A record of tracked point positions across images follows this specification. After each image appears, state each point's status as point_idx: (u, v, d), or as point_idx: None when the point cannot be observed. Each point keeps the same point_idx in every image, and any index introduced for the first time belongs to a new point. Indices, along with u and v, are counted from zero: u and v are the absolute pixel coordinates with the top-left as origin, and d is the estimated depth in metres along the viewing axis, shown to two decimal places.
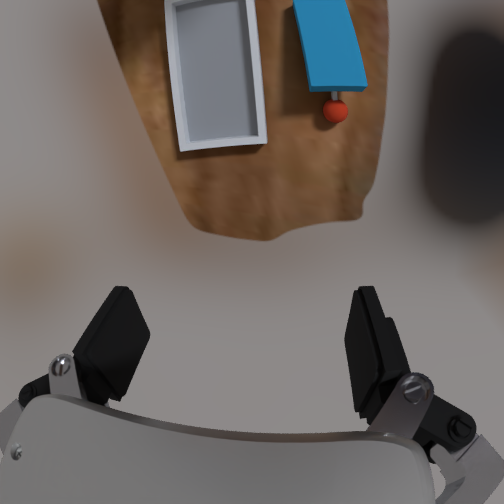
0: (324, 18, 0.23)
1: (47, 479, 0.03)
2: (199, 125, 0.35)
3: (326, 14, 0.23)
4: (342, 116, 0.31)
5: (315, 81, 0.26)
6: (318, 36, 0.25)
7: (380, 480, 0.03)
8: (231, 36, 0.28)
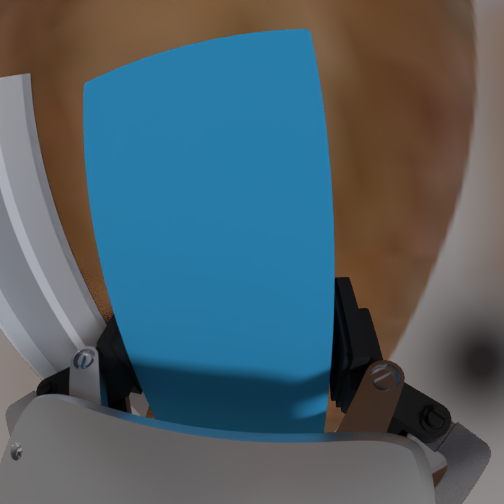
0: (187, 189, 0.07)
1: (47, 479, 0.03)
2: (55, 360, 0.19)
3: (200, 157, 0.06)
4: None
5: None
6: (165, 294, 0.08)
7: (380, 480, 0.03)
8: None
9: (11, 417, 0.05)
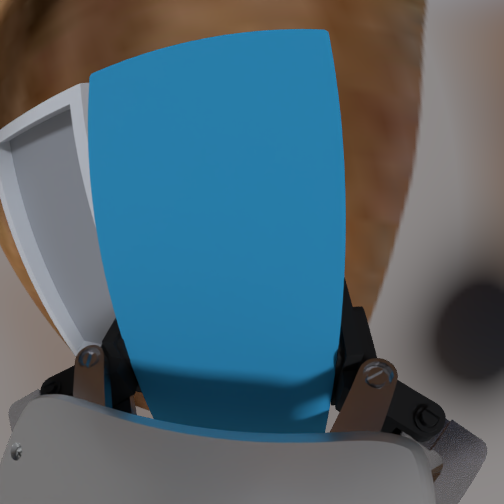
0: (196, 189, 0.07)
1: (47, 479, 0.03)
2: (87, 328, 0.24)
3: (212, 156, 0.06)
4: None
5: None
6: (169, 296, 0.08)
7: (380, 480, 0.03)
8: (80, 206, 0.17)
9: (14, 415, 0.06)
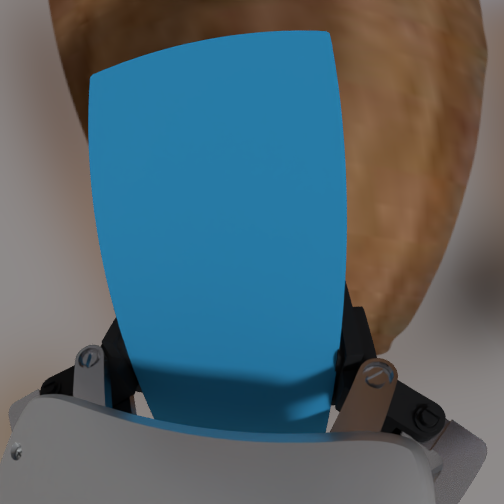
0: (197, 191, 0.07)
1: (47, 479, 0.03)
2: None
3: (213, 158, 0.06)
4: None
5: None
6: (170, 297, 0.08)
7: (380, 480, 0.03)
8: None
9: (14, 415, 0.06)
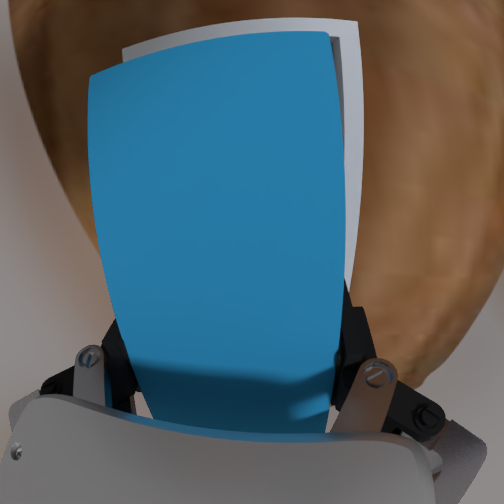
0: (196, 191, 0.07)
1: (47, 479, 0.03)
2: None
3: (212, 158, 0.06)
4: None
5: None
6: (169, 298, 0.08)
7: (380, 480, 0.03)
8: None
9: (14, 415, 0.06)
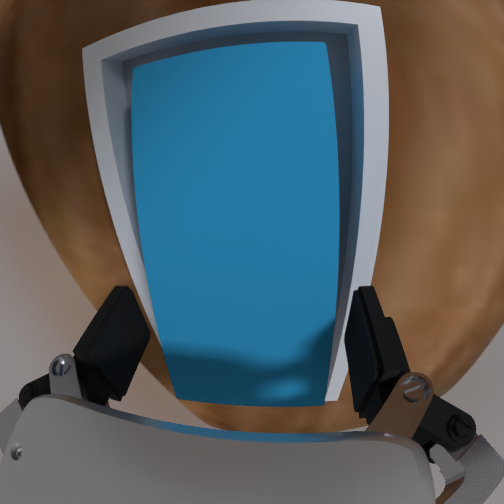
0: (224, 160, 0.08)
1: (47, 479, 0.03)
2: None
3: (237, 135, 0.08)
4: None
5: (185, 391, 0.11)
6: (195, 249, 0.09)
7: (380, 480, 0.03)
8: None
9: None
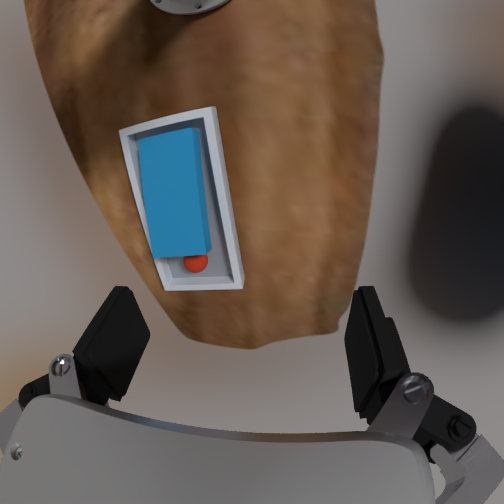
0: (165, 168, 0.29)
1: (47, 479, 0.03)
2: (179, 265, 0.40)
3: (168, 160, 0.29)
4: (198, 269, 0.36)
5: (156, 252, 0.31)
6: (159, 195, 0.30)
7: (380, 480, 0.03)
8: None
9: None
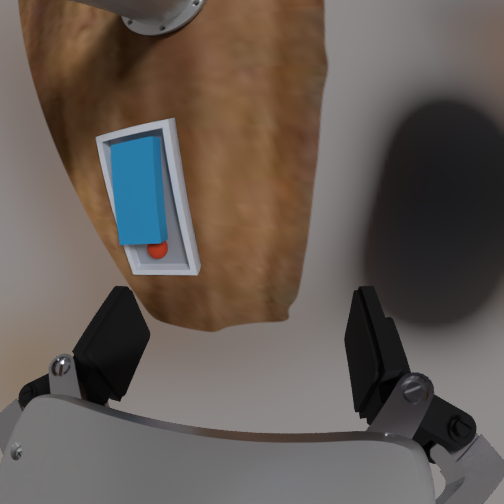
0: (131, 170, 0.33)
1: (47, 479, 0.03)
2: (146, 252, 0.44)
3: (133, 164, 0.33)
4: (159, 256, 0.41)
5: (122, 240, 0.36)
6: (126, 192, 0.34)
7: (380, 480, 0.03)
8: None
9: None
